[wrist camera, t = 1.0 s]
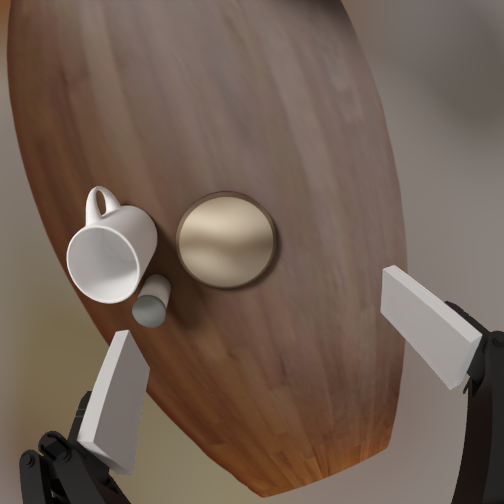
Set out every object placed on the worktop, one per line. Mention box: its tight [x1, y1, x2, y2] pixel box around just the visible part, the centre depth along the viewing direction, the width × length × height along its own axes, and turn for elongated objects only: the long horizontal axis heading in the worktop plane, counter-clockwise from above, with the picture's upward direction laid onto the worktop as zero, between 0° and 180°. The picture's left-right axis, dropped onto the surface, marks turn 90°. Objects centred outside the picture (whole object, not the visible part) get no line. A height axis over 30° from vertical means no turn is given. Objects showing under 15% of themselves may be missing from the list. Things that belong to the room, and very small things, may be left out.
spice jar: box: [132, 274, 171, 327], centre depth 34 cm, size 4×4×7 cm
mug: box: [67, 186, 157, 303], centre depth 29 cm, size 9×12×11 cm
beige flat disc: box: [176, 191, 276, 289], centre depth 35 cm, size 13×13×2 cm
